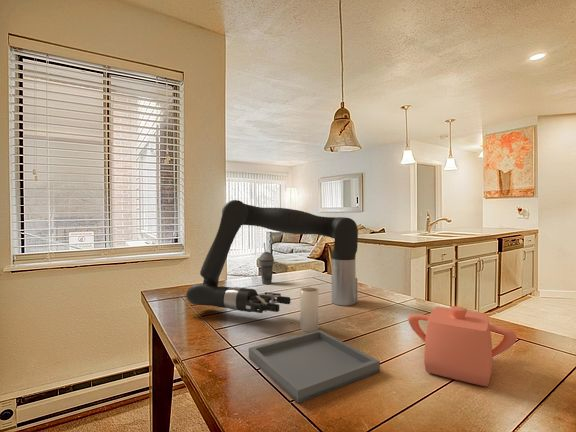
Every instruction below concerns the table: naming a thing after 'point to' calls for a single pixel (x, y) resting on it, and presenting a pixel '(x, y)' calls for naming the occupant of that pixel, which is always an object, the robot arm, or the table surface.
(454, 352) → the teapot
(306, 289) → the cream cup
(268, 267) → the beverage cup
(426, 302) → the table surface
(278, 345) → the charcoal tray
